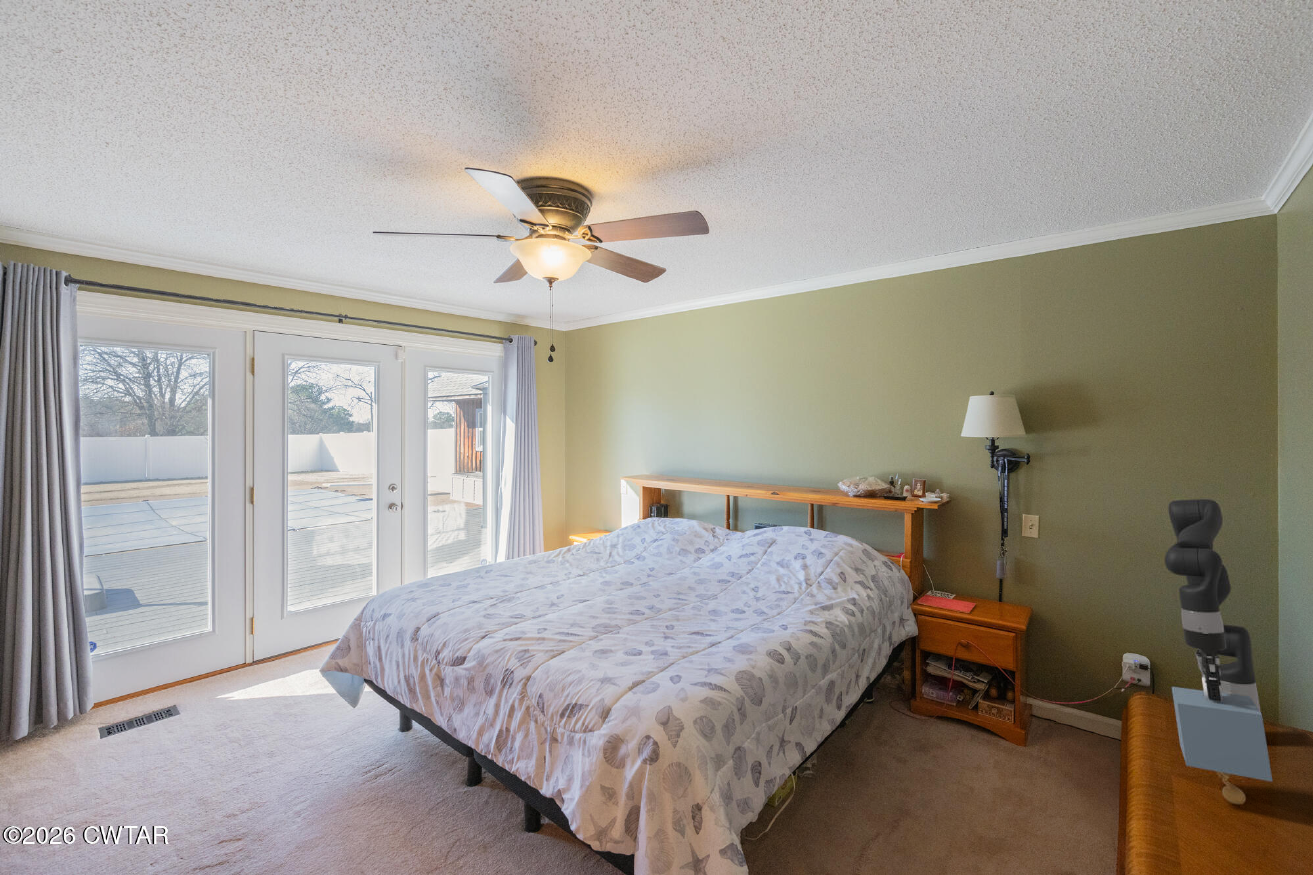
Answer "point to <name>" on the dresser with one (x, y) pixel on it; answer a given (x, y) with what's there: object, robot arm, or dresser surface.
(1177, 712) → the block with white knob
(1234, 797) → the figurine
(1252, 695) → the robot arm
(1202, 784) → the dresser surface
